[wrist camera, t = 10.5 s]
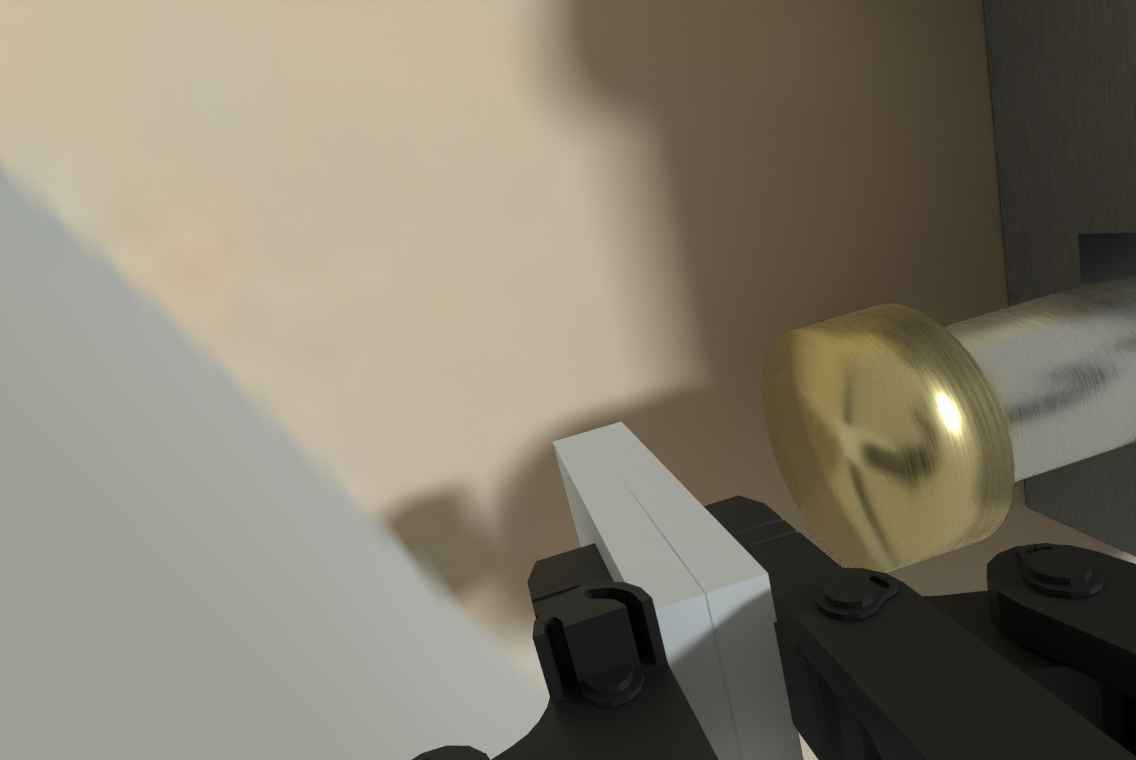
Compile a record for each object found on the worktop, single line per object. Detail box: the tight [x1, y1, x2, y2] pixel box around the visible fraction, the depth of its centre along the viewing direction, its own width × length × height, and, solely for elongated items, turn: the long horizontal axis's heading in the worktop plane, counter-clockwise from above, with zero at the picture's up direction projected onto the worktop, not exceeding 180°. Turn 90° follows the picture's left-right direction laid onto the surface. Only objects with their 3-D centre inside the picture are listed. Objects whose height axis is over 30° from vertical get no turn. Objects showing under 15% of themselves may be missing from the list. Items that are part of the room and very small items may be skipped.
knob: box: [762, 269, 1136, 573], centre depth 14 cm, size 5×12×5 cm, turn 104°
